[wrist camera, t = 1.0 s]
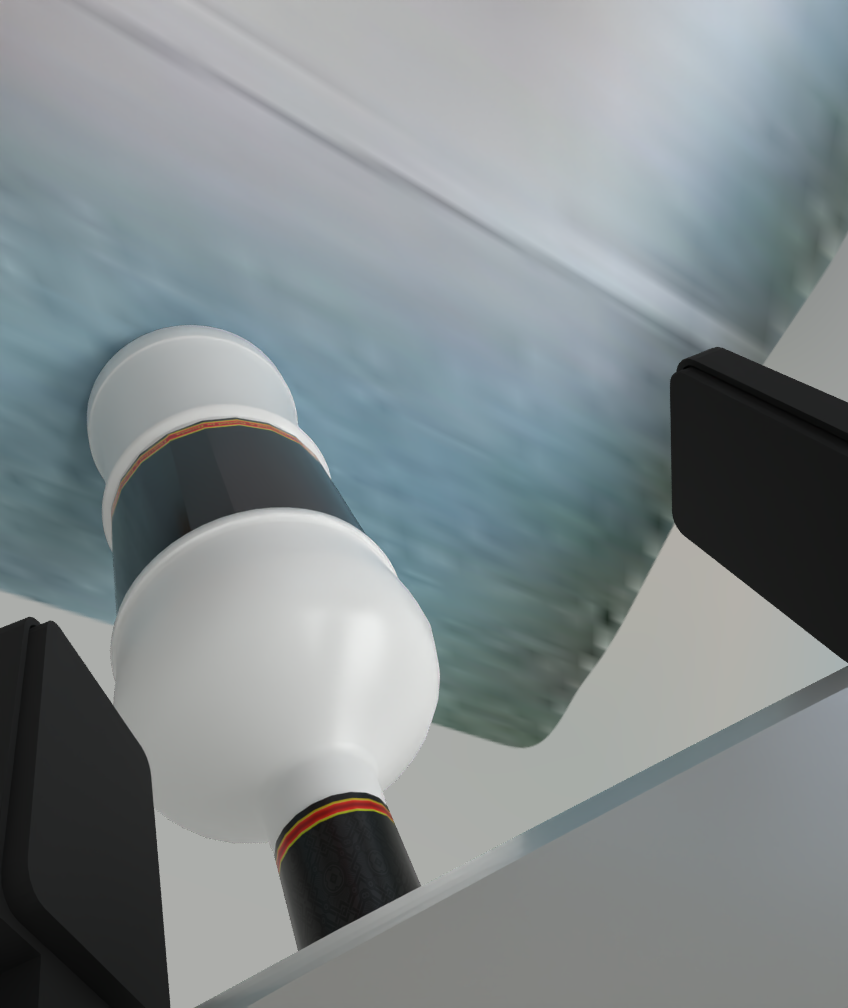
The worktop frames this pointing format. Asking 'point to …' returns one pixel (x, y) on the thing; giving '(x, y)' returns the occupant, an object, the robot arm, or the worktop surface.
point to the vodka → (256, 624)
